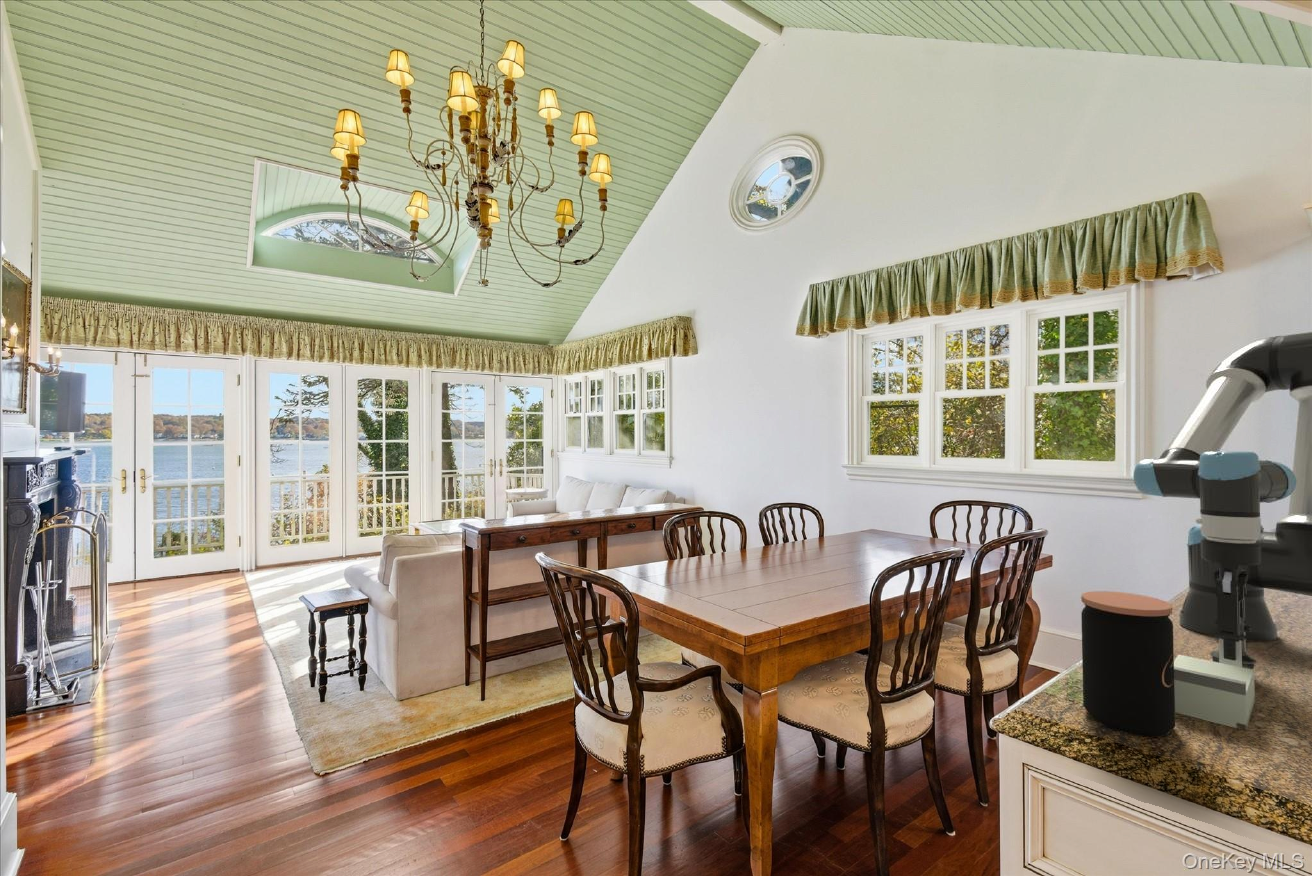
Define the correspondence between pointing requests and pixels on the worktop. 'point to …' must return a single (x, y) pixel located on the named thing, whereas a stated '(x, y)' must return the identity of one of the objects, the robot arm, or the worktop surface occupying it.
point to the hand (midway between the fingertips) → (1232, 671)
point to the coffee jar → (1128, 662)
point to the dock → (1214, 691)
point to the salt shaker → (1246, 660)
